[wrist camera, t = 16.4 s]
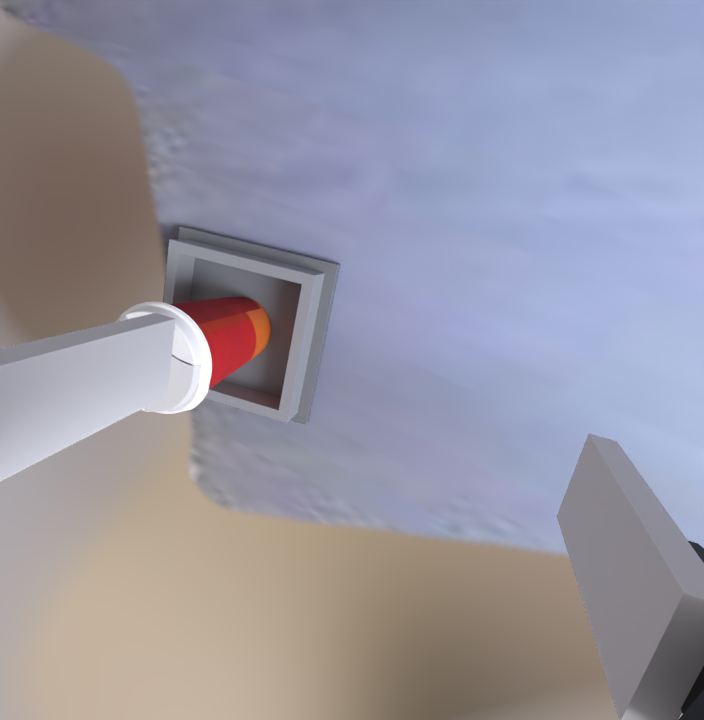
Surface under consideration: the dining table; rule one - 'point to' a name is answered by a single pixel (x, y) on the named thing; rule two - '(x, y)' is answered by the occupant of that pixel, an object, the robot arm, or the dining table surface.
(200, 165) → the dining table surface
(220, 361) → the coffee cup
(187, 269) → the tray
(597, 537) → the robot arm
